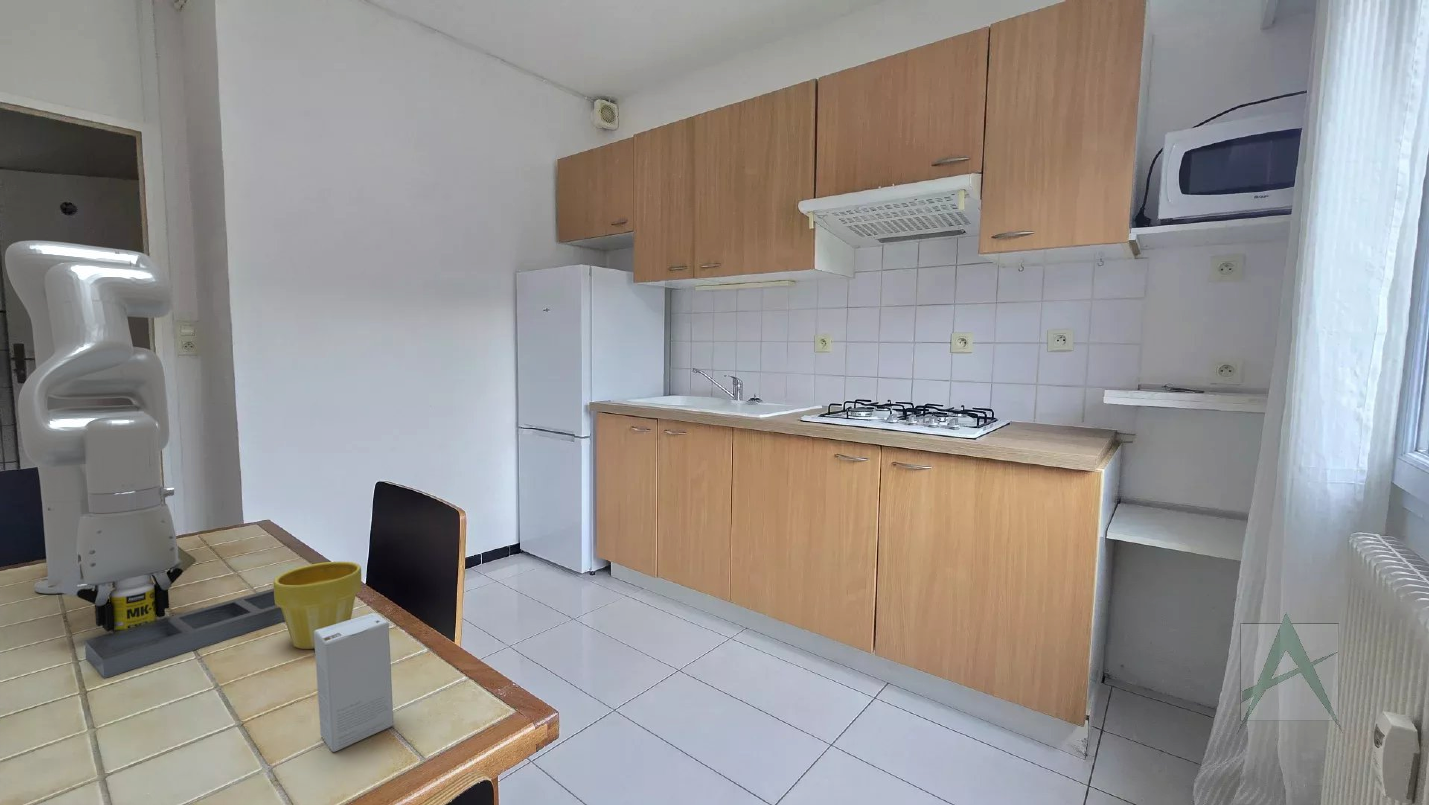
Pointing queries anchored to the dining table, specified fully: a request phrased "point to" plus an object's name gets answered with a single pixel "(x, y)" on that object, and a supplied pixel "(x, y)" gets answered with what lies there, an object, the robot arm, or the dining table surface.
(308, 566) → the plant pot
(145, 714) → the dining table surface
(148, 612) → the supplement bottle
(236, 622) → the grey long slotted tray
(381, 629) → the skincare box
